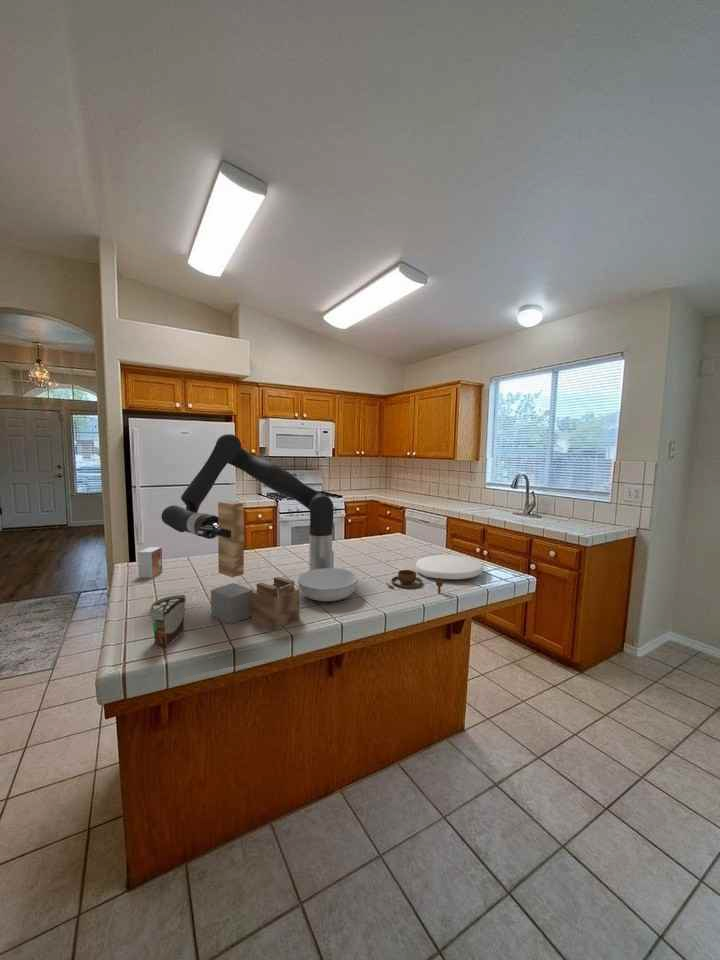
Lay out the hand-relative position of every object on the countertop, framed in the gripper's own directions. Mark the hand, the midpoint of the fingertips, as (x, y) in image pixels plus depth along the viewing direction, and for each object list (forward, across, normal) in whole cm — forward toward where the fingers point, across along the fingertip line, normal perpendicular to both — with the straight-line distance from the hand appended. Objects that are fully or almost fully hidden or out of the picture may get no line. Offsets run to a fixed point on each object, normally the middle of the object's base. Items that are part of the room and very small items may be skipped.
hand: (236, 533), depth 116 cm
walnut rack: (+11, +6, +26) cm, 29 cm away
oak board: (-3, 0, +13) cm, 13 cm away
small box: (-60, +3, +27) cm, 66 cm away
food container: (-4, -20, +26) cm, 33 cm away
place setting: (+29, +57, +26) cm, 69 cm away
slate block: (-2, 0, +26) cm, 26 cm away
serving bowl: (+11, +30, +26) cm, 41 cm away
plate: (+34, +81, +26) cm, 92 cm away
